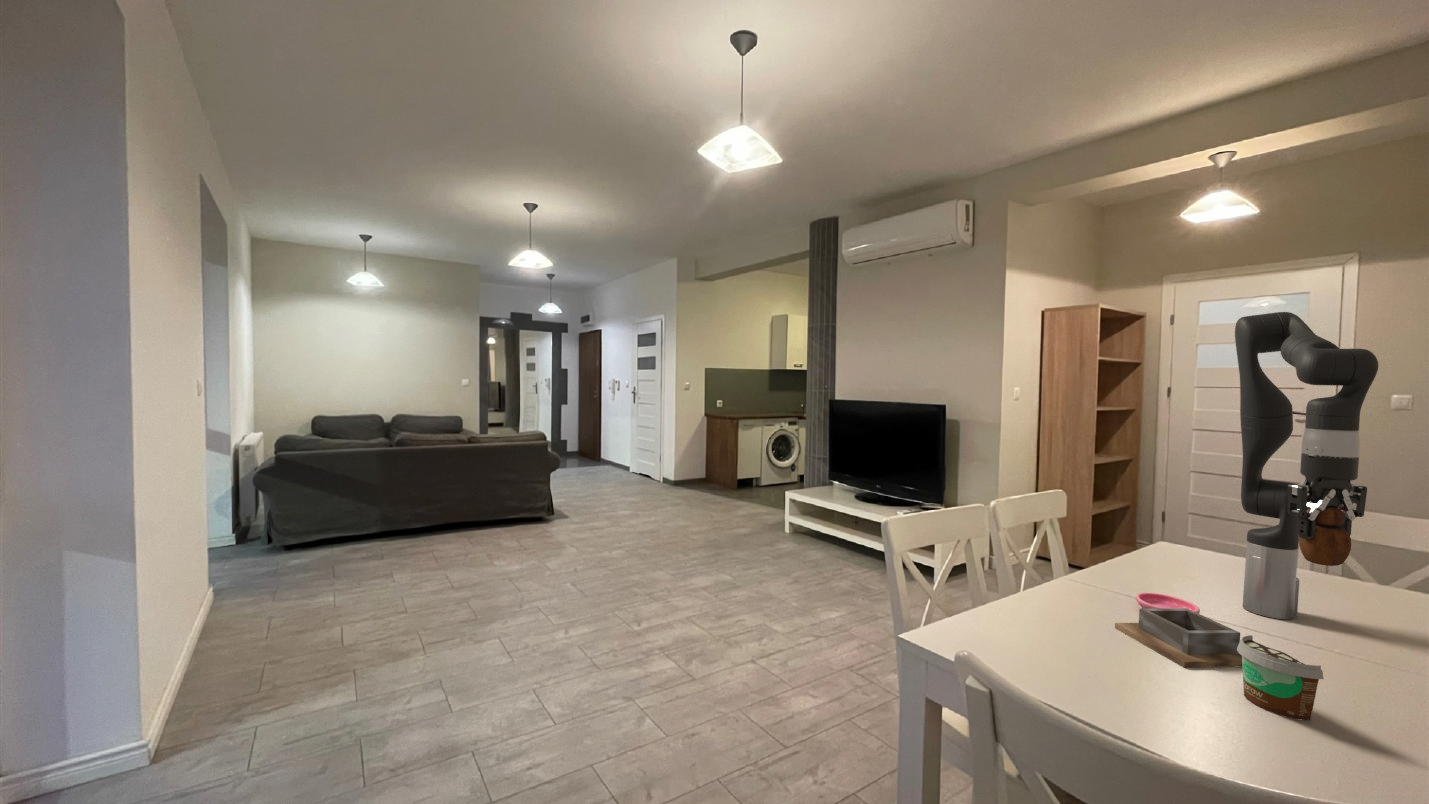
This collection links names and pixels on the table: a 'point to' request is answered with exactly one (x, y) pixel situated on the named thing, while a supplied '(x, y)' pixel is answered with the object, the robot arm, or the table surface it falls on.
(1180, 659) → the collar board
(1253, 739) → the table surface
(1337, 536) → the wooden figurine
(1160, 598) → the saucer
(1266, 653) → the food container
